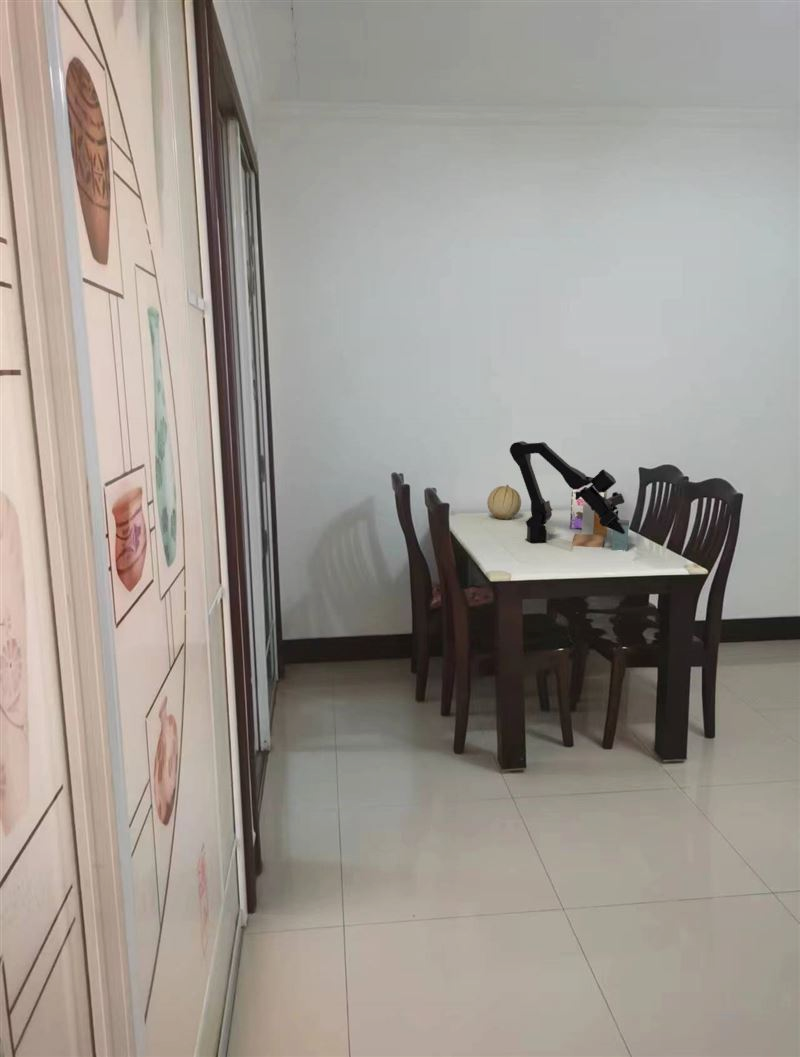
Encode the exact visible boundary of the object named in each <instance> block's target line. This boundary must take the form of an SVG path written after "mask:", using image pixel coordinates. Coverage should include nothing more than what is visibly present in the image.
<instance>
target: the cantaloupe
mask: <svg viewBox="0 0 800 1057" xmlns="http://www.w3.org/2000/svg"><path fill="white" fill-rule="evenodd" d="M521 506H522V499H521V496H520V493H519V492H518V491H517V490H516V489H514V488H512V487H511V486H510V485H508V484H506V485H500V486H497V487H495V488H494V489H493V490H492V491H490V493H489V495H488V497H487V508H488V511H489V513H490V514H491V515H492V516H494V517H495V518H496V519H500V520H508V519H512V518H514V517H515V516H516V515H517V514H518V513H519V511H520V509H521Z"/></svg>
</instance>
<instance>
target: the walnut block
mask: <svg viewBox="0 0 800 1057" xmlns="http://www.w3.org/2000/svg"><path fill="white" fill-rule="evenodd" d="M604 543H605V536H604V535H590V534H582V533H574V535H573V537H572V547H585V548H598V547H599V548H600V547H602V549H603V547H604Z"/></svg>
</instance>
